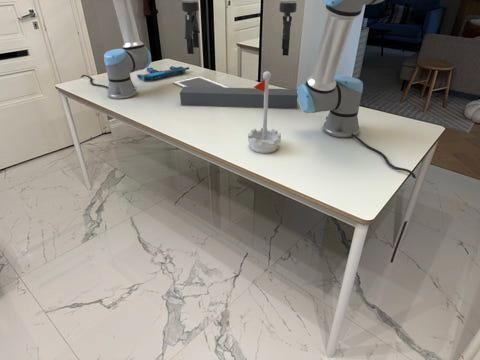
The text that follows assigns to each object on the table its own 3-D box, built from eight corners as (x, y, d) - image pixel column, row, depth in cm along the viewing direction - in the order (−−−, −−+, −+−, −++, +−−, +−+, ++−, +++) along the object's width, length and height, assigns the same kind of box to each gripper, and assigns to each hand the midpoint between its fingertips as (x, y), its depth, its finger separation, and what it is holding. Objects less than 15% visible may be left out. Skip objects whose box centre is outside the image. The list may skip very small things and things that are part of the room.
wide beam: (295, 102, 180) (296, 89, 176) (296, 108, 172) (297, 95, 168) (185, 99, 184) (183, 86, 180) (181, 105, 176) (179, 92, 173)
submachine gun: (174, 61, 240) (194, 66, 223) (175, 66, 242) (194, 72, 225) (128, 70, 221) (146, 76, 205) (130, 76, 223) (147, 82, 207)
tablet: (173, 83, 208) (173, 82, 207) (200, 76, 219) (200, 76, 218) (203, 96, 187) (203, 95, 187) (231, 88, 198) (231, 87, 198)
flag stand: (271, 137, 144) (275, 65, 128) (285, 150, 134) (292, 74, 118) (243, 142, 140) (243, 68, 124) (255, 156, 130) (257, 78, 114)
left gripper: (187, -2, 164) (191, 44, 176) (175, 4, 144) (180, 56, 155) (202, -2, 164) (205, 45, 175) (192, 4, 143) (196, 56, 155)
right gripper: (279, -1, 161) (276, 46, 173) (280, 5, 140) (277, 58, 152) (295, -1, 161) (291, 46, 172) (298, 5, 140) (294, 58, 151)
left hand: (193, 50), depth 165 cm, fingers open, 13 cm apart
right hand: (284, 52), depth 162 cm, fingers open, 13 cm apart
